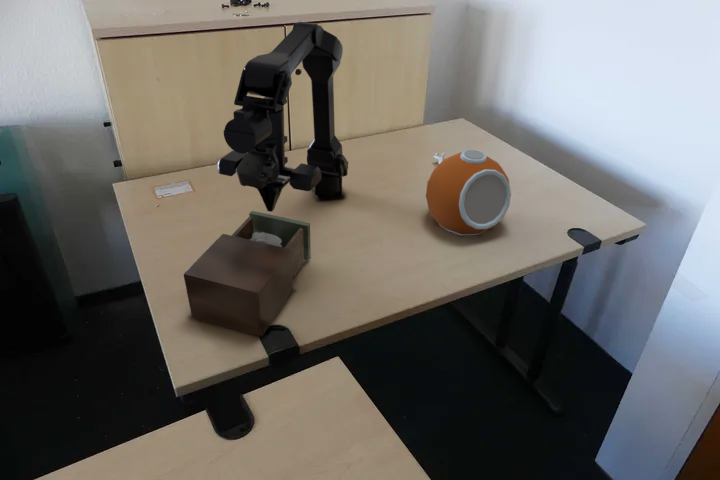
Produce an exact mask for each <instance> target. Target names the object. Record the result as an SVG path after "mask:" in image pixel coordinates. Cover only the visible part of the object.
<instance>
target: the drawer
mask: <svg viewBox="0 0 720 480" xmlns="http://www.w3.org/2000/svg"><path fill="white" fill-rule="evenodd" d="M248 215H249V216H248V217H247V218H245V220H244V221H243V222H242V223H241V225H239V227H237V229H236V230H235V231H234V232H233V233H232V234H231V236H235V237H240V238H244V239H248V240H250V239H252V235H253V233H255V232H258V233H262V232H264V233H267V234H272V235H275V236H277V237H279V238H280V239H281V240H282V242H281V244H280V245H281V246H282V247H283V248H288V249H291V262H292V280H293V279H294V278H295V276H296V275H297V274H298V272H299V270H300V269H301V267H302V266H303V265H304V264H305V260H307V261H309V260H310V258H312V254H311V253H312V251H311V249H312V248H311V223H310V222H307V221H303V220H299V219H294V218H289V217H284V216H280V215H279V216H278V215H275V214H270V213H264V212H261V211H255V210H250V212H249V213H248Z"/></svg>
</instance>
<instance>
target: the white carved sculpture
mask: <svg viewBox="0 0 720 480" xmlns="http://www.w3.org/2000/svg"><path fill="white" fill-rule="evenodd" d="M250 240H253V241H257V242H261V243H266V244H270V245H275V246H279V247H282V246H281V245H280V244H281V242H282V240H281V239H280V238H279V237H277V236H275V235H272V234H267V233H264V232H262V233H258V232H255V233H253V235H252V239H250Z"/></svg>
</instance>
